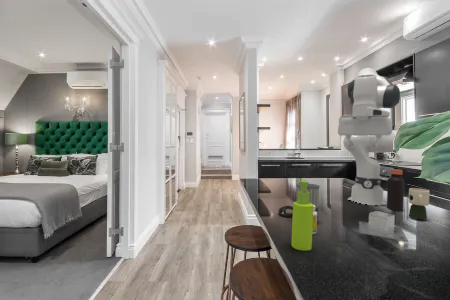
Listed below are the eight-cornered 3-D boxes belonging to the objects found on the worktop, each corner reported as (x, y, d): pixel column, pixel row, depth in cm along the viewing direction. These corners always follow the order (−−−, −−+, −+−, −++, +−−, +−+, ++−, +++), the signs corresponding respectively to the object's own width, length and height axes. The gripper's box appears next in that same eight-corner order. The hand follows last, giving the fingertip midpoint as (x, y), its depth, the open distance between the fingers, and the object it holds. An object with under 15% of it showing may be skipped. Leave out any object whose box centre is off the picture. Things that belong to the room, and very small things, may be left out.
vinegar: (406, 211, 120) (408, 170, 119) (392, 211, 120) (394, 170, 119) (396, 207, 127) (398, 169, 126) (383, 207, 127) (385, 168, 126)
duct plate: (359, 222, 100) (359, 212, 100) (400, 229, 93) (401, 218, 93) (359, 233, 88) (360, 221, 87) (407, 241, 81) (408, 229, 81)
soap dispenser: (306, 241, 78) (308, 179, 78) (314, 250, 72) (317, 182, 71) (288, 241, 78) (290, 178, 78) (294, 250, 71) (297, 182, 71)
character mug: (405, 214, 114) (407, 186, 114) (425, 217, 110) (427, 188, 110) (409, 220, 105) (410, 190, 104) (430, 223, 101) (432, 192, 101)
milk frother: (320, 226, 94) (322, 187, 94) (278, 222, 97) (279, 184, 97) (314, 215, 108) (316, 182, 108) (278, 212, 111) (279, 179, 111)
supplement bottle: (317, 231, 88) (319, 204, 88) (315, 235, 84) (316, 207, 83) (302, 228, 91) (303, 202, 91) (299, 232, 86) (300, 205, 86)
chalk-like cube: (368, 228, 91) (369, 213, 91) (375, 225, 95) (376, 210, 95) (387, 233, 86) (387, 217, 86) (393, 230, 90) (394, 214, 90)
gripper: (336, 114, 109) (334, 145, 109) (389, 110, 93) (387, 146, 94) (342, 115, 113) (340, 145, 113) (394, 112, 98) (392, 147, 98)
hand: (362, 146), depth 103 cm, fingers open, 8 cm apart
